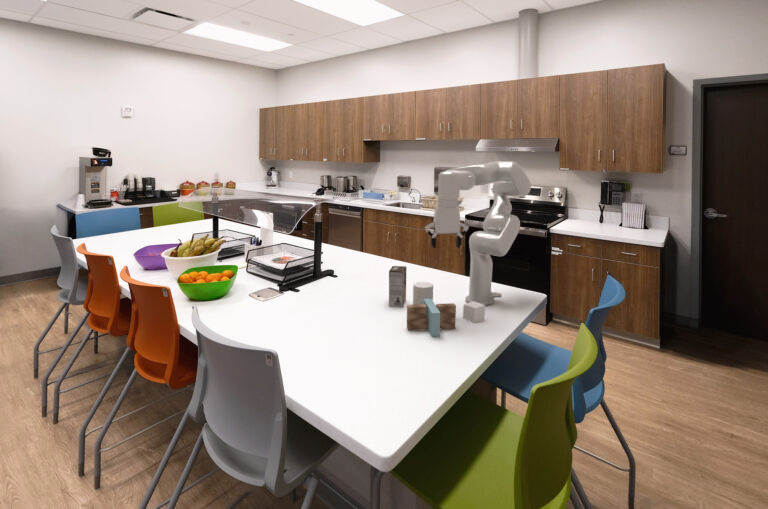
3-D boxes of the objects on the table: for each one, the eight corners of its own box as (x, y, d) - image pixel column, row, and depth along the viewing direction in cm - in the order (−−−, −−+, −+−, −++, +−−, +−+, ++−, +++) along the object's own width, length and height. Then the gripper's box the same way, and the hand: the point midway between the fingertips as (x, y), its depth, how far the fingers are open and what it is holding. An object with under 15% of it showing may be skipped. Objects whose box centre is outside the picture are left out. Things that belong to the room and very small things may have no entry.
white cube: (462, 318, 178) (463, 304, 176) (472, 315, 181) (473, 301, 180) (474, 322, 173) (475, 308, 172) (484, 319, 177) (485, 305, 175)
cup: (411, 309, 188) (412, 282, 185) (430, 308, 188) (431, 281, 186) (414, 316, 180) (415, 287, 177) (434, 315, 180) (435, 287, 178)
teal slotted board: (430, 320, 175) (431, 298, 173) (439, 336, 160) (440, 312, 158) (423, 320, 175) (423, 298, 173) (431, 336, 159) (432, 313, 157)
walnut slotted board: (453, 325, 170) (453, 303, 168) (455, 328, 167) (456, 305, 165) (406, 327, 168) (407, 304, 166) (407, 330, 165) (408, 307, 163)
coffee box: (392, 299, 200) (392, 265, 196) (406, 300, 199) (406, 266, 195) (388, 306, 191) (388, 270, 188) (403, 307, 190) (403, 271, 186)
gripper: (466, 202, 175) (464, 245, 179) (423, 203, 174) (422, 245, 178) (472, 204, 168) (470, 249, 172) (427, 205, 166) (426, 249, 170)
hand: (446, 247), depth 175 cm, fingers open, 9 cm apart
